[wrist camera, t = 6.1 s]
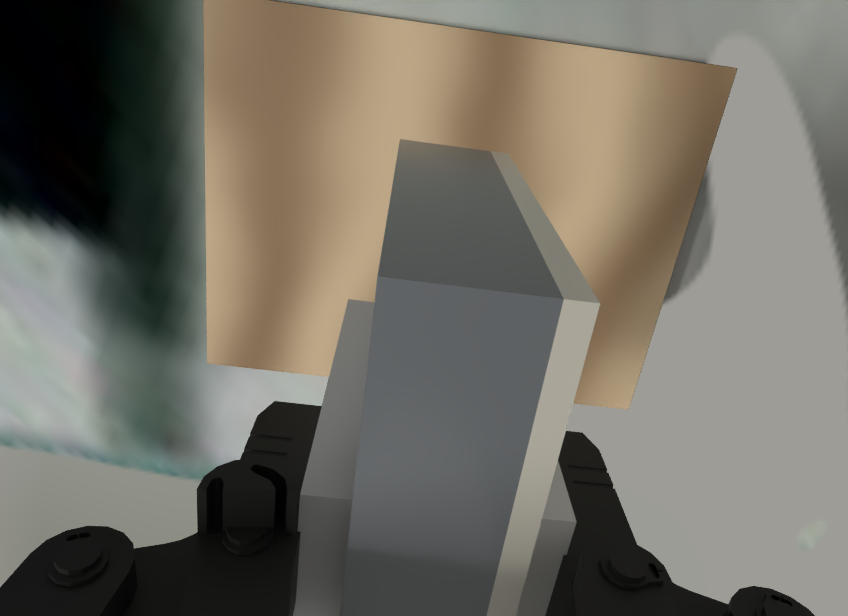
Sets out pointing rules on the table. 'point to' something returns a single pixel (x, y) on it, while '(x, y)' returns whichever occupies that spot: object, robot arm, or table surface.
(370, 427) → the tile
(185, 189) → the table surface
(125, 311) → the table surface
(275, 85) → the mat
